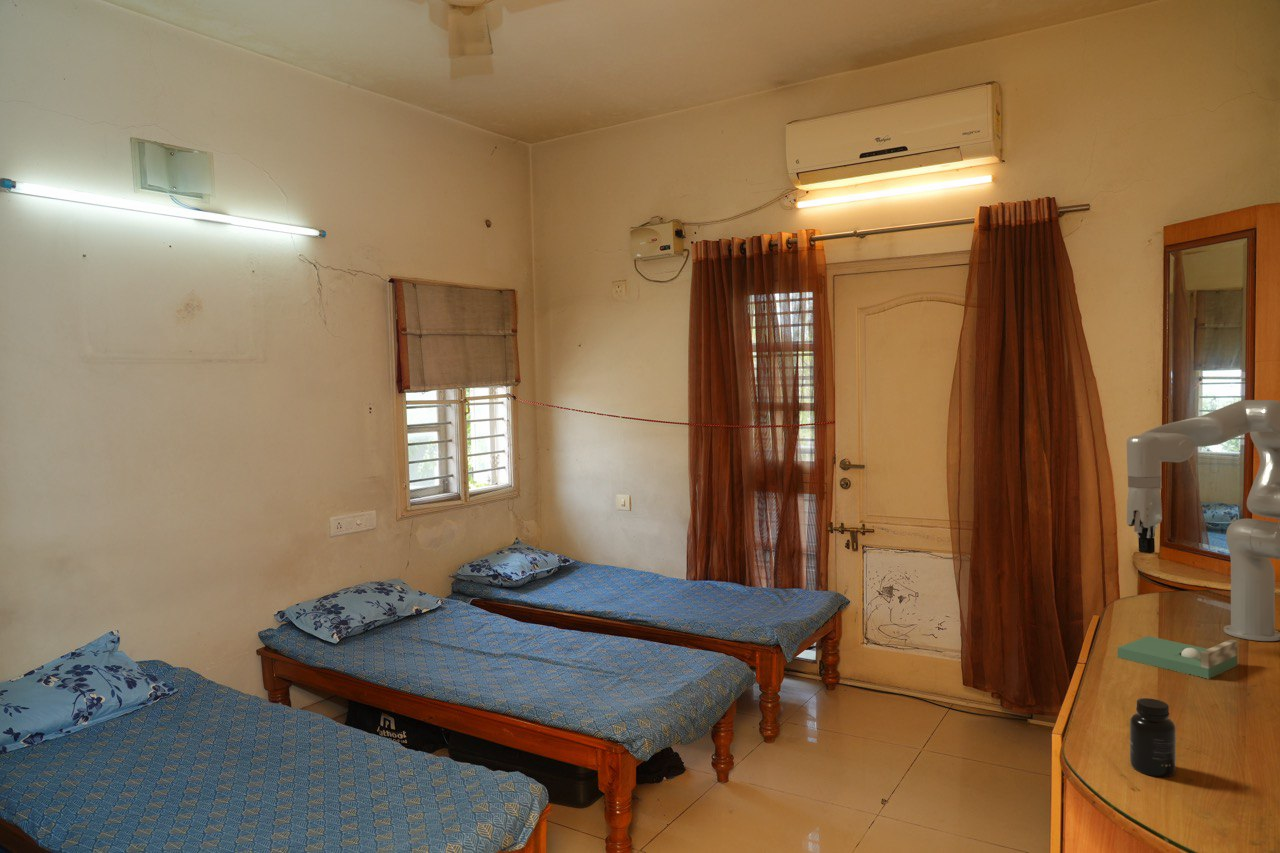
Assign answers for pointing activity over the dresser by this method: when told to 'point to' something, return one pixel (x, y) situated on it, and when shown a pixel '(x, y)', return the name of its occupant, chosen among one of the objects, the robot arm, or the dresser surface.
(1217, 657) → the backboard
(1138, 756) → the supplement bottle
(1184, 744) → the dresser surface
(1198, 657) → the ball
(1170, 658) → the putting green
